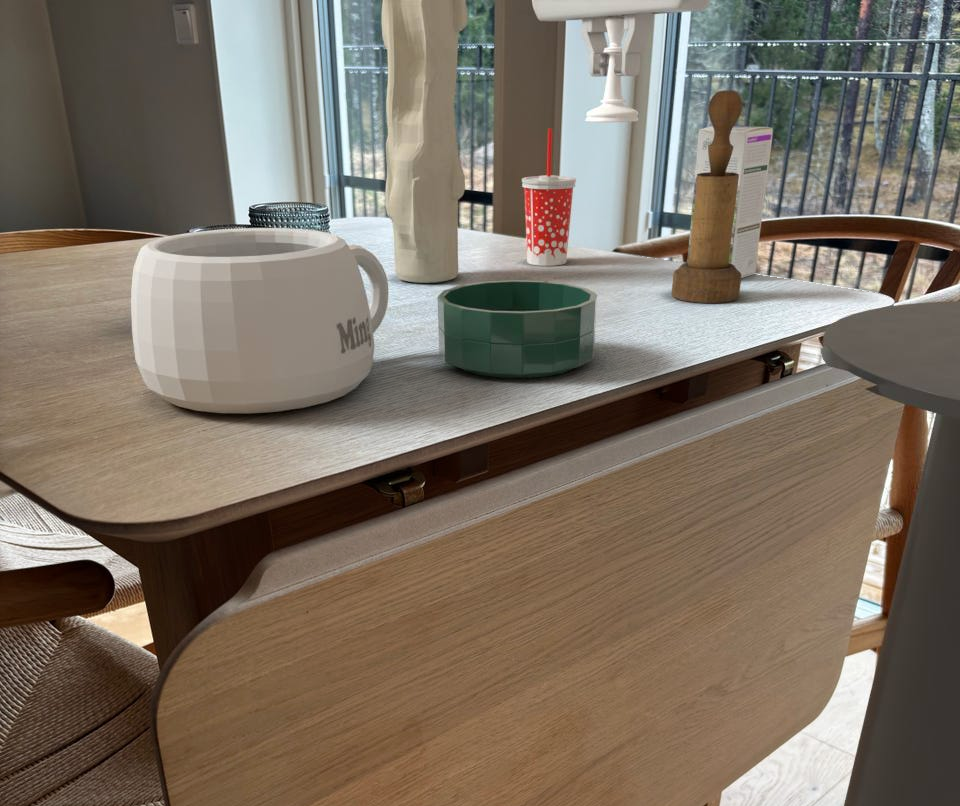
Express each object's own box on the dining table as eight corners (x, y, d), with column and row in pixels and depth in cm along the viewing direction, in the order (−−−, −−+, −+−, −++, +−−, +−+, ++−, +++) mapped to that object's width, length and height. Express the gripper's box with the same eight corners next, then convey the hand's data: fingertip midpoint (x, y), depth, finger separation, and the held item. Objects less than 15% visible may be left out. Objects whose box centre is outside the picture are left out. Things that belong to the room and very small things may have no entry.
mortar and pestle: (683, 304, 94) (704, 91, 85) (662, 291, 100) (679, 89, 91) (749, 301, 95) (776, 90, 86) (724, 288, 101) (747, 89, 92)
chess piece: (639, 119, 93) (647, -7, 88) (637, 122, 89) (644, -11, 83) (587, 119, 94) (592, -5, 88) (583, 122, 89) (587, -9, 84)
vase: (481, 278, 107) (479, -57, 92) (428, 290, 101) (417, -64, 86) (423, 269, 112) (413, -51, 97) (370, 280, 106) (350, -57, 91)
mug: (240, 441, 61) (217, 273, 56) (96, 392, 70) (65, 244, 65) (466, 369, 75) (464, 230, 70) (321, 337, 84) (309, 211, 79)
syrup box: (757, 274, 108) (776, 125, 100) (728, 282, 104) (746, 128, 97) (712, 268, 111) (727, 124, 104) (683, 275, 107) (697, 126, 100)
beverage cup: (583, 262, 115) (589, 128, 108) (545, 268, 111) (549, 130, 104) (547, 256, 119) (551, 126, 112) (510, 261, 116) (511, 128, 108)
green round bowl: (625, 364, 76) (629, 298, 73) (501, 392, 70) (502, 320, 67) (529, 335, 84) (530, 274, 82) (411, 357, 78) (409, 292, 76)
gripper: (742, -130, 76) (723, 74, 83) (573, -95, 91) (569, 76, 98) (685, -137, 73) (670, 76, 80) (519, -100, 88) (519, 77, 95)
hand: (613, 76), depth 89 cm, fingers closed on chess piece
